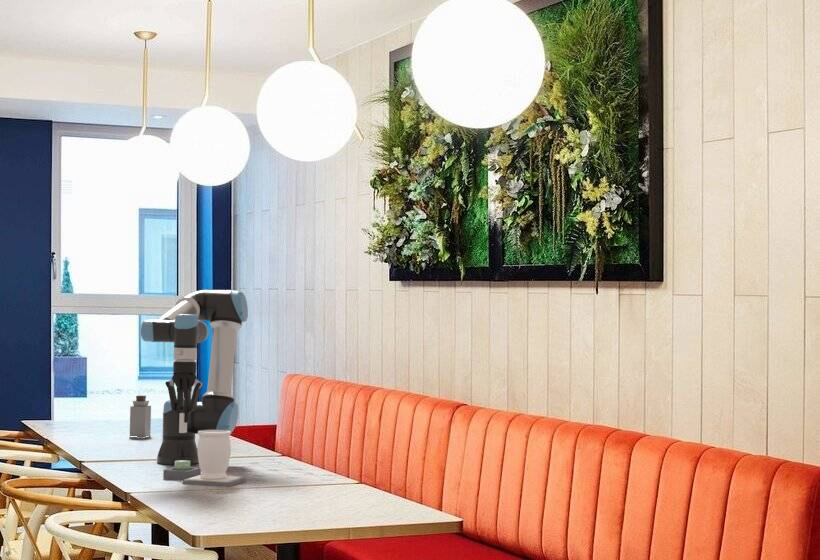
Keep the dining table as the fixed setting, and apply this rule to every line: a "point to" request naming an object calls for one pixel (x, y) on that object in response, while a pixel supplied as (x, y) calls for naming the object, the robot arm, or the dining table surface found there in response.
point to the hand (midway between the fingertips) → (182, 432)
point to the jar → (214, 453)
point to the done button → (182, 465)
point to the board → (215, 481)
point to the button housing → (180, 473)
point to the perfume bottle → (140, 417)
